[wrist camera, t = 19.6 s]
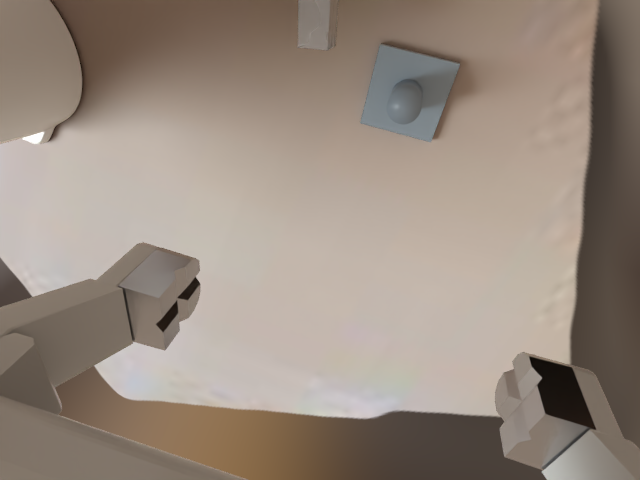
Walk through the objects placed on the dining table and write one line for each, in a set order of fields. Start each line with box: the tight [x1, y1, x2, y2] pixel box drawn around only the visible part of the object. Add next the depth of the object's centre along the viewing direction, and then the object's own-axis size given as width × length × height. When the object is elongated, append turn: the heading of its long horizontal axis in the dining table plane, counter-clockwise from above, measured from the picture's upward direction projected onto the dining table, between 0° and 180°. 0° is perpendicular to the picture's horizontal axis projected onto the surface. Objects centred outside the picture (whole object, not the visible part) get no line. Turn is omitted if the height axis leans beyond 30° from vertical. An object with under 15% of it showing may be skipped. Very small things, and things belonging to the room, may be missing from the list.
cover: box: [360, 43, 460, 142], centre depth 28 cm, size 6×6×4 cm
